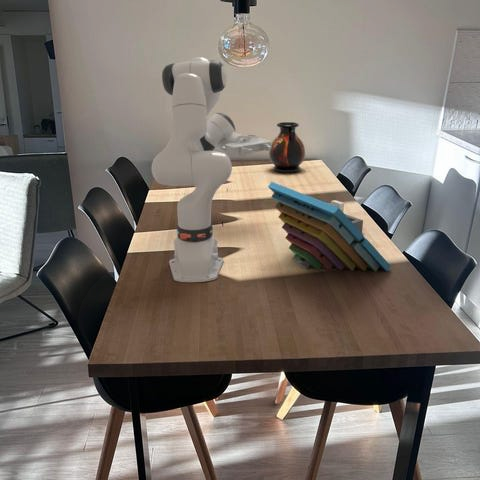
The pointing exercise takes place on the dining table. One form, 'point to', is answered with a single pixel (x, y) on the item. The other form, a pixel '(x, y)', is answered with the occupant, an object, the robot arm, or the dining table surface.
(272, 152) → the black and orange vase
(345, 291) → the dining table surface
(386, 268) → the stacked coloured sheets
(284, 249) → the dining table surface
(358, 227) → the stand
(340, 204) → the white rectangular block
